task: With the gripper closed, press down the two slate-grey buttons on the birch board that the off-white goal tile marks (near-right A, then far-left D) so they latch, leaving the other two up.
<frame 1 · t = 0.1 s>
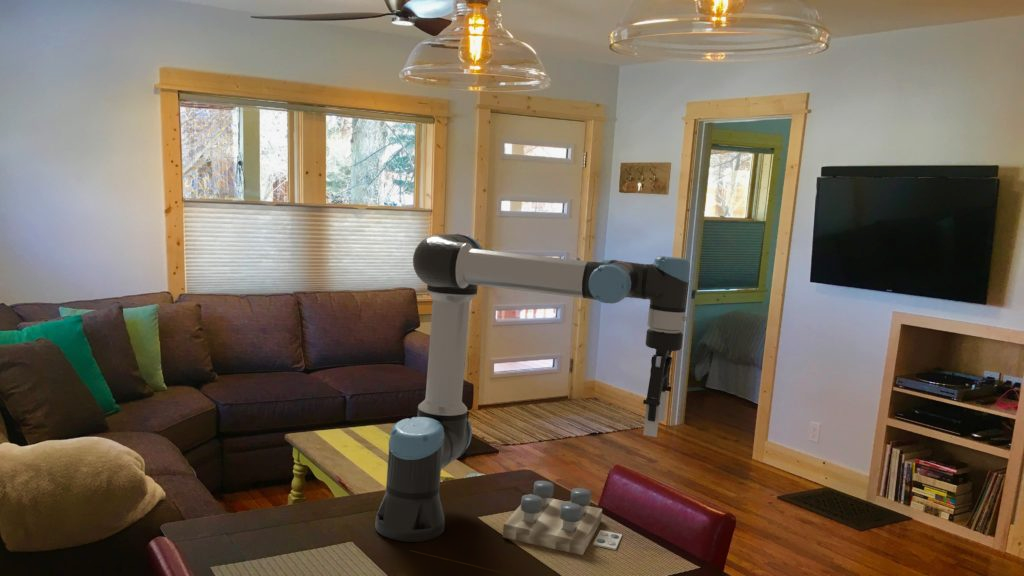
hand: (654, 427, 161), 28 cm above the table, fingers open, 13 cm apart
button A: (530, 510, 167), point 5 cm above the table, slide at 0.0 cm
board: (553, 528, 171), on the table
button C: (569, 519, 165), point 5 cm above the table, slide at 0.0 cm
goal tile: (607, 540, 167), on the table
button D: (580, 503, 174), point 5 cm above the table, slide at 0.0 cm
button B: (542, 495, 177), point 5 cm above the table, slide at 0.0 cm
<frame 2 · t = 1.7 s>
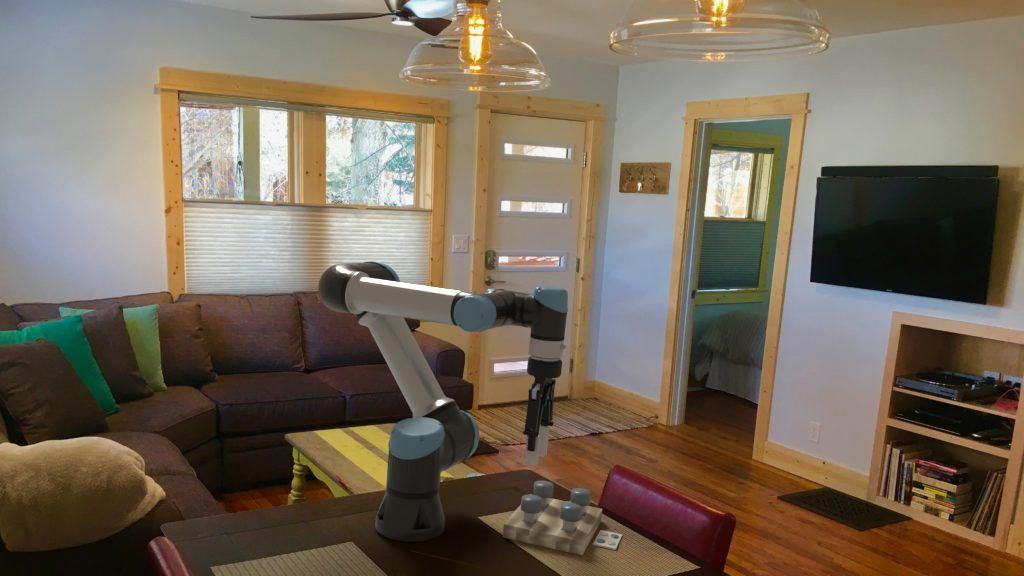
hand: (535, 459, 166), 17 cm above the table, fingers open, 7 cm apart
nothing on the table moved.
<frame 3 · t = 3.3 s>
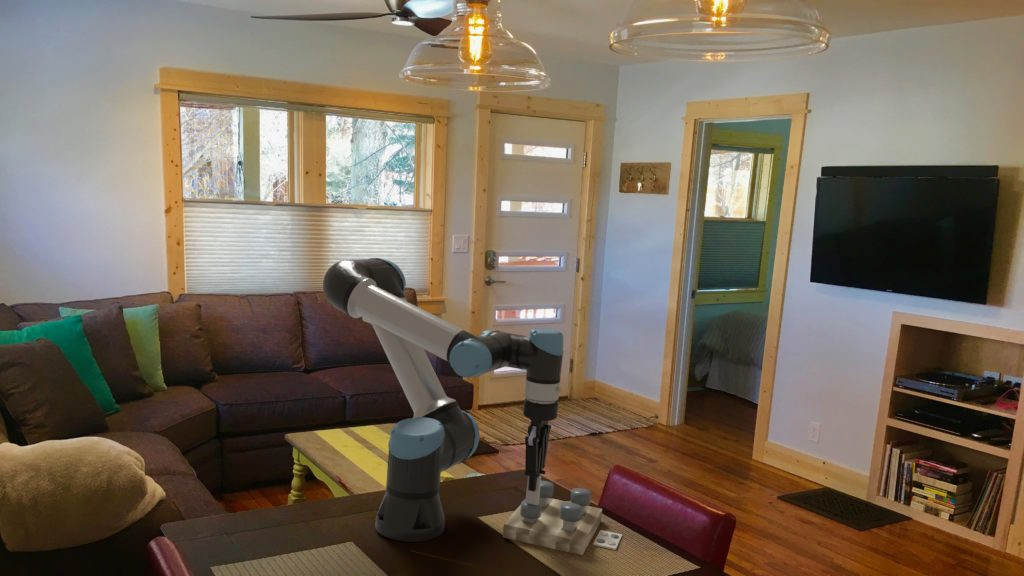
hand: (532, 502, 167), 7 cm above the table, fingers closed
button A: (530, 516, 167), point 4 cm above the table, slide at 1.3 cm, touching gripper
everything else where it was.
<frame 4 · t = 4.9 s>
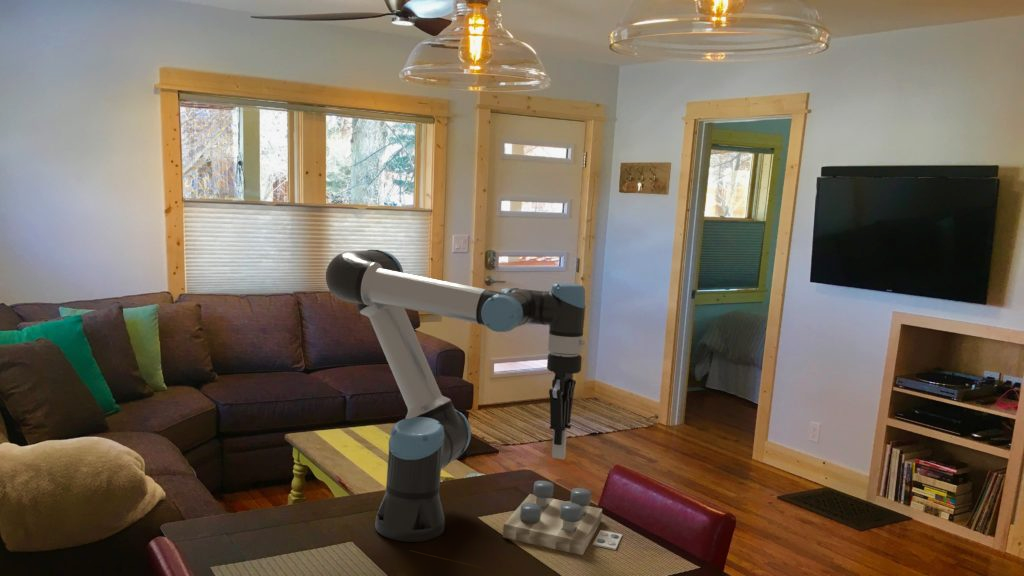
hand: (558, 457, 168), 17 cm above the table, fingers closed
button A: (529, 519, 167), point 3 cm above the table, slide at 2.0 cm
everything else where it was.
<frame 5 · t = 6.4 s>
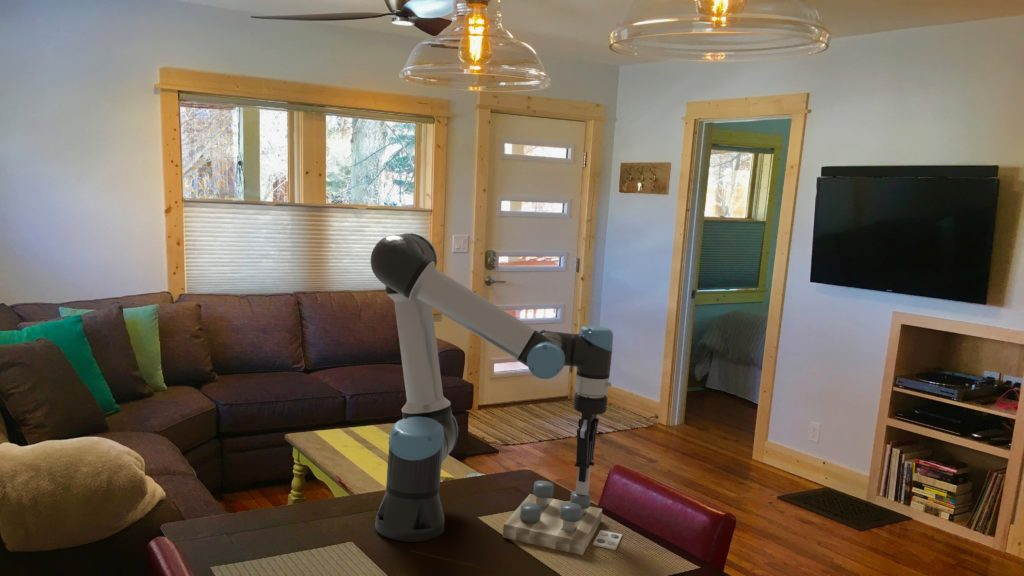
hand: (581, 493, 174), 8 cm above the table, fingers closed
button D: (579, 506, 174), point 4 cm above the table, slide at 0.7 cm, touching gripper
everything else where it was.
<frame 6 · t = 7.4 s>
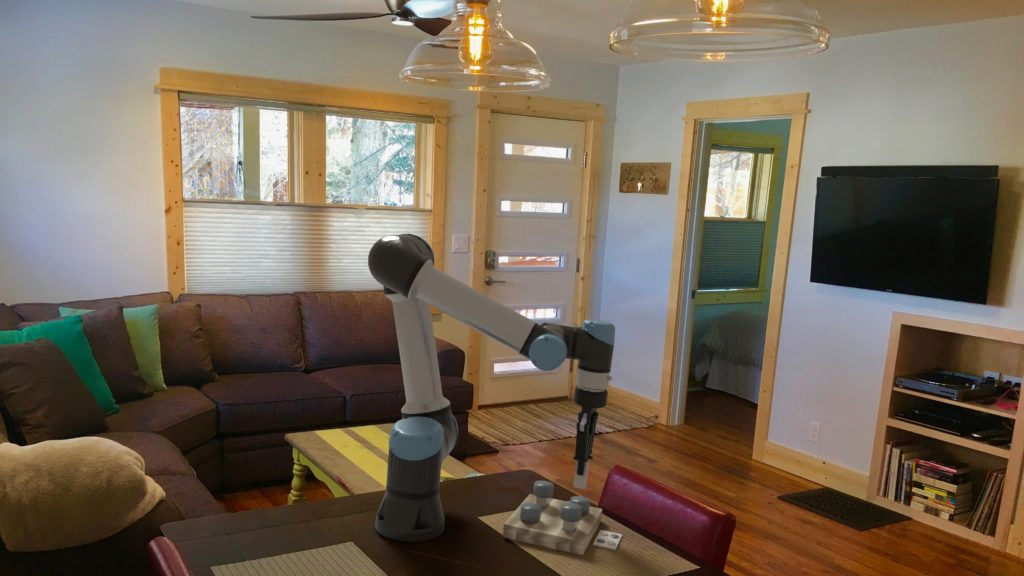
hand: (579, 486, 174), 9 cm above the table, fingers closed
button D: (579, 511, 174), point 3 cm above the table, slide at 2.0 cm
everything else where it was.
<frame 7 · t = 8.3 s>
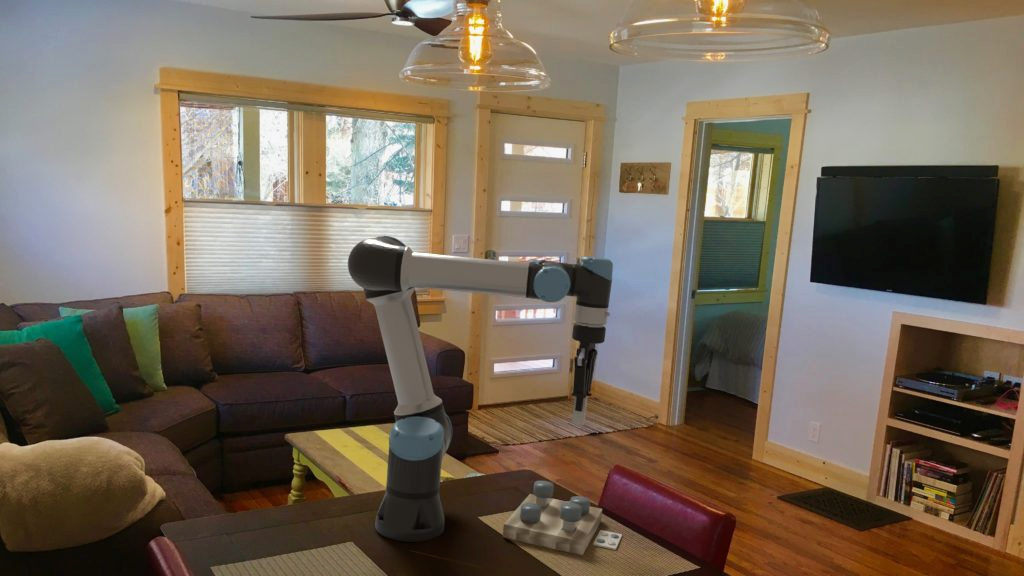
hand: (578, 423, 175), 23 cm above the table, fingers closed
nothing on the table moved.
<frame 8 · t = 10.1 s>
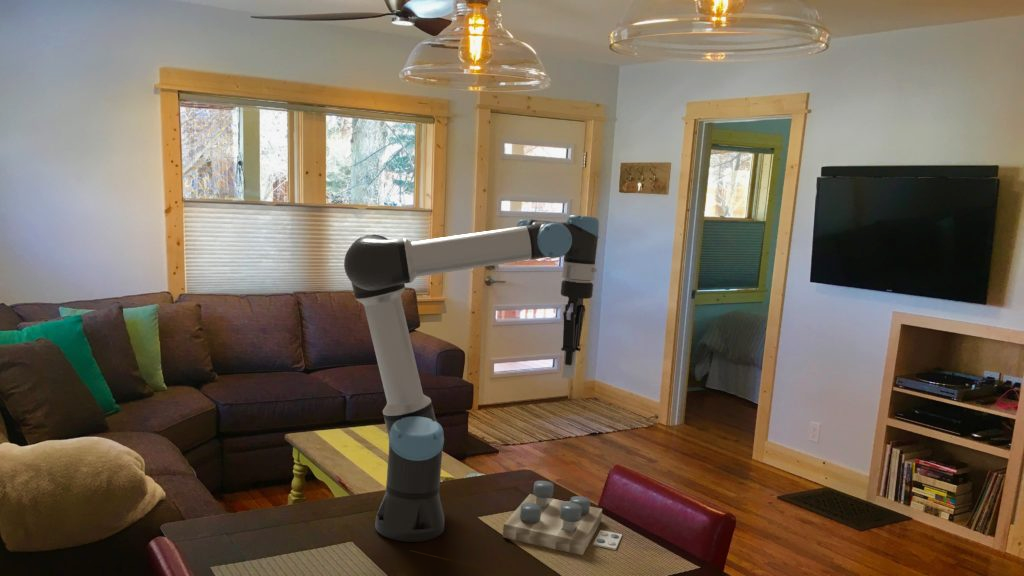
hand: (568, 377, 181), 32 cm above the table, fingers closed
nothing on the table moved.
at the end: button A slide at 2.0 cm; button D slide at 2.0 cm; button B slide at 0.0 cm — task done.
